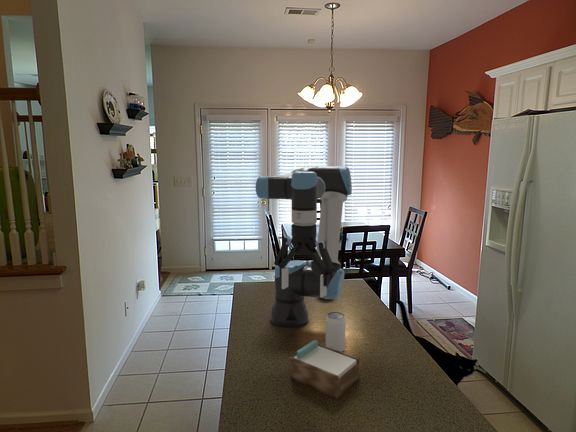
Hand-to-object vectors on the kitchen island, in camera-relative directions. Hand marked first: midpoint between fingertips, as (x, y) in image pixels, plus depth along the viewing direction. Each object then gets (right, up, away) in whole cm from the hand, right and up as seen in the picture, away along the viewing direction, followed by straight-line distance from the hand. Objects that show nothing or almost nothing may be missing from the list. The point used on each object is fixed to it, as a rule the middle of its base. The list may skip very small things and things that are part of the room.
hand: (303, 291), depth 120 cm
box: (+6, -24, -5) cm, 26 cm away
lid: (+6, -19, -6) cm, 21 cm away
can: (+11, -22, +12) cm, 27 cm away
